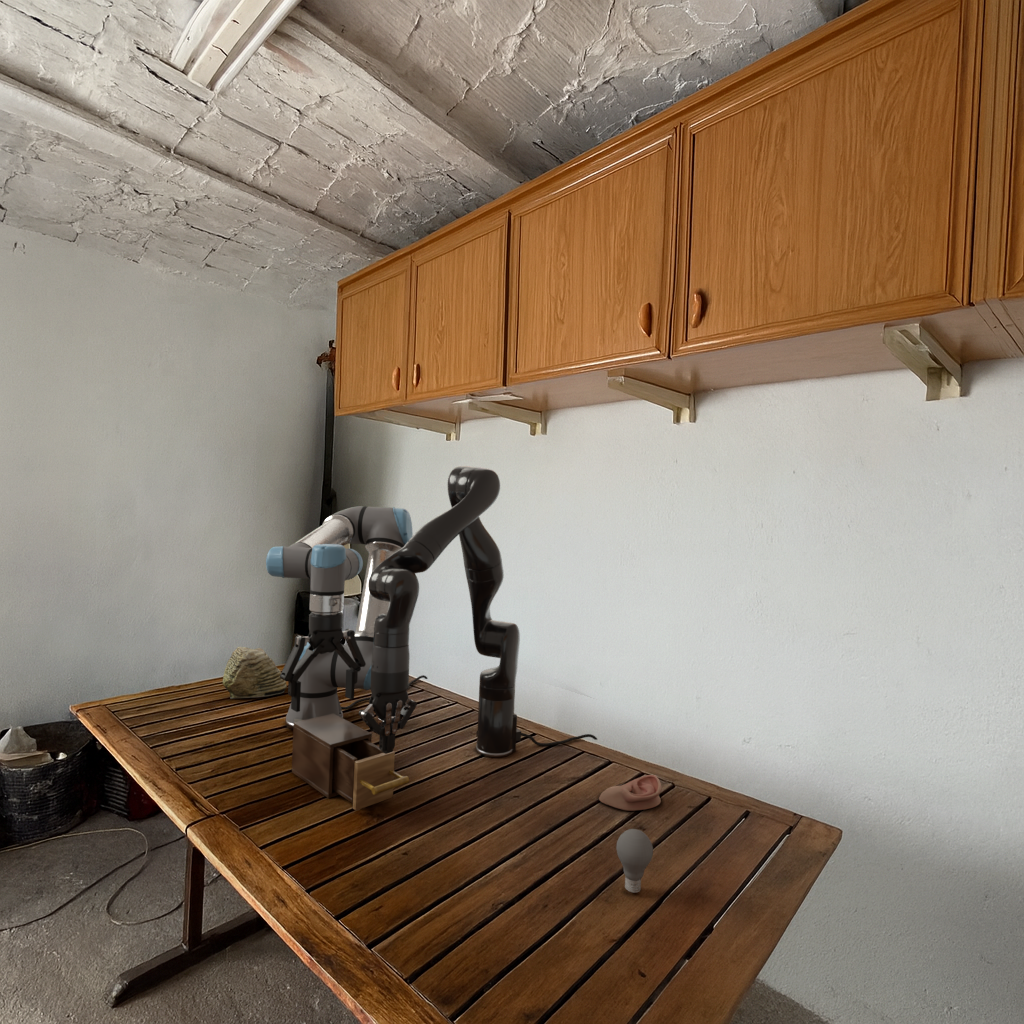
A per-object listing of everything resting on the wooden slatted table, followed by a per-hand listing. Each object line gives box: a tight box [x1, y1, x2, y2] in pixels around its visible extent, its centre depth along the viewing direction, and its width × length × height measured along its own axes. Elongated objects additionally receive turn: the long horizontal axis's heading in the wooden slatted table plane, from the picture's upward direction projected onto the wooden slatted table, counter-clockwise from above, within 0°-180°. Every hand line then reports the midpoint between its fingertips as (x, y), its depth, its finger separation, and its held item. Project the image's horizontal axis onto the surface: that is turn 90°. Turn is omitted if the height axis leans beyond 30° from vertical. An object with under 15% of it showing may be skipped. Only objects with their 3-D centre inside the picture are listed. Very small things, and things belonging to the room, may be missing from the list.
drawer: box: [332, 739, 410, 811], centre depth 133 cm, size 21×9×10 cm, turn 45°
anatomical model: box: [598, 774, 663, 812], centre depth 139 cm, size 13×4×12 cm
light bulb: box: [615, 828, 654, 894], centre depth 106 cm, size 6×6×10 cm
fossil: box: [222, 646, 288, 699], centre depth 198 cm, size 9×18×15 cm, turn 132°
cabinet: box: [291, 714, 373, 799], centre depth 143 cm, size 17×10×11 cm, turn 45°
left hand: (323, 703), depth 146 cm, fingers open, 13 cm apart
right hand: (386, 751), depth 127 cm, fingers closed
